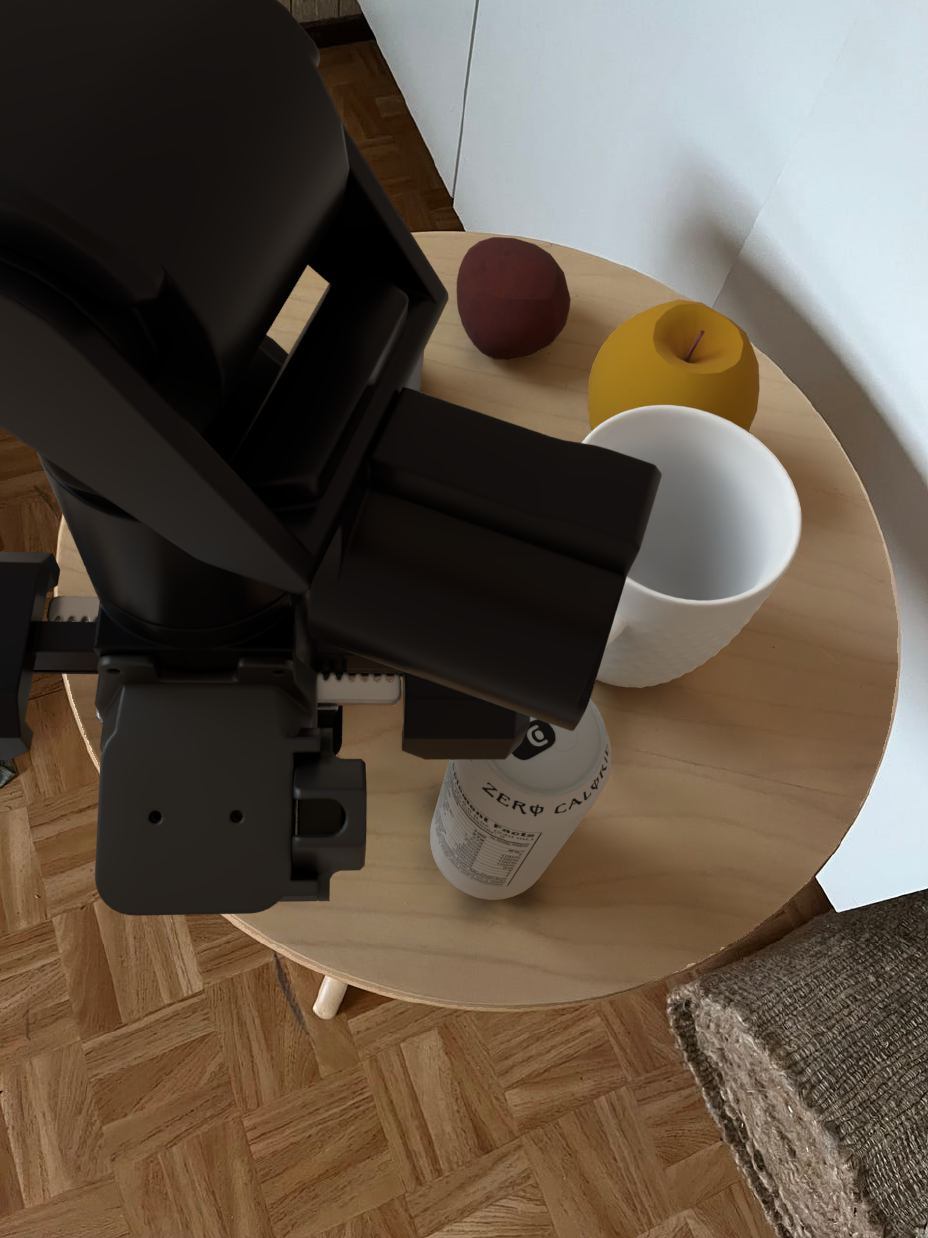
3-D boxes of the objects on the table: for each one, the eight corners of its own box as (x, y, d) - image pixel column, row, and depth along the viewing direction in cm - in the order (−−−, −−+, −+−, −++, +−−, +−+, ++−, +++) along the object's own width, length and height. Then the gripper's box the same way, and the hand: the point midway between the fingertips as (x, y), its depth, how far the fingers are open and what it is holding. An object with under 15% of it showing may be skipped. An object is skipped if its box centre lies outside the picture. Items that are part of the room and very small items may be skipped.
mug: (610, 817, 52) (688, 721, 40) (438, 693, 54) (466, 569, 43) (745, 618, 58) (845, 486, 47) (587, 514, 61) (645, 364, 49)
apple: (542, 415, 64) (582, 272, 53) (680, 388, 66) (744, 247, 56) (599, 543, 60) (654, 416, 49) (743, 510, 62) (825, 382, 52)
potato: (564, 295, 69) (583, 223, 64) (557, 388, 65) (577, 320, 60) (457, 277, 68) (467, 204, 63) (443, 371, 65) (453, 300, 59)
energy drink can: (570, 866, 50) (654, 763, 37) (467, 927, 49) (517, 842, 35) (507, 765, 53) (564, 634, 39) (406, 820, 51) (431, 701, 37)
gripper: (-308, 853, 20) (-50, 975, 34) (598, 844, 23) (498, 962, 36) (-170, 415, 26) (6, 674, 39) (556, 442, 28) (482, 678, 42)
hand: (246, 749), depth 39 cm, fingers closed
